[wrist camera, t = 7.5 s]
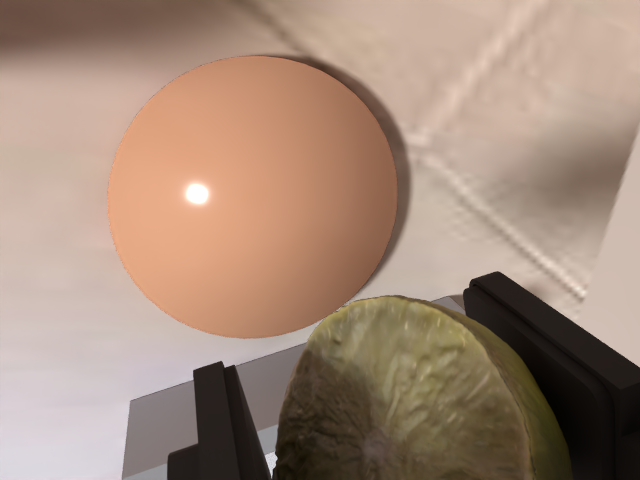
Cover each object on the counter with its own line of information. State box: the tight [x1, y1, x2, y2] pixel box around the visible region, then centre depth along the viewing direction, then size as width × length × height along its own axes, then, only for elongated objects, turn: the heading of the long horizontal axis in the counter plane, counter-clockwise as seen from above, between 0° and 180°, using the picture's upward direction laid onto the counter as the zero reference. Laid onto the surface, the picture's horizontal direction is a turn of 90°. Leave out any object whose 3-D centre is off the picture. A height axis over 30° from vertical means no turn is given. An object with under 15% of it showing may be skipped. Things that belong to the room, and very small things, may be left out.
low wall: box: [122, 296, 466, 480], centre depth 24 cm, size 1×16×5 cm, turn 102°
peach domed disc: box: [108, 56, 398, 339], centre depth 23 cm, size 12×12×1 cm
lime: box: [272, 295, 573, 480], centre depth 9 cm, size 4×5×5 cm
